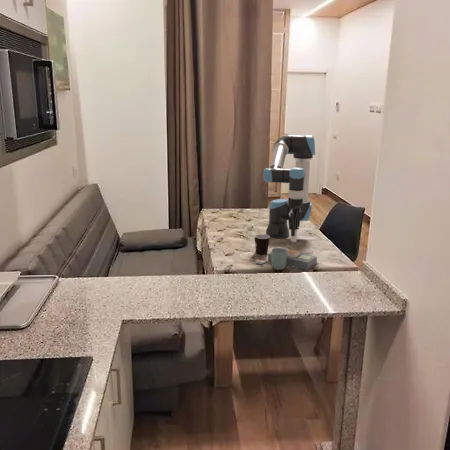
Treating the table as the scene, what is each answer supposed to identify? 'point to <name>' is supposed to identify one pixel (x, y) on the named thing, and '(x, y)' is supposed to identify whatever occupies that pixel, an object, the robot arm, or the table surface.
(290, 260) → the keypad
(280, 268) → the cup
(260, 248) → the coffee mug
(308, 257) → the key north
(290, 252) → the key mid
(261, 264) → the tile
